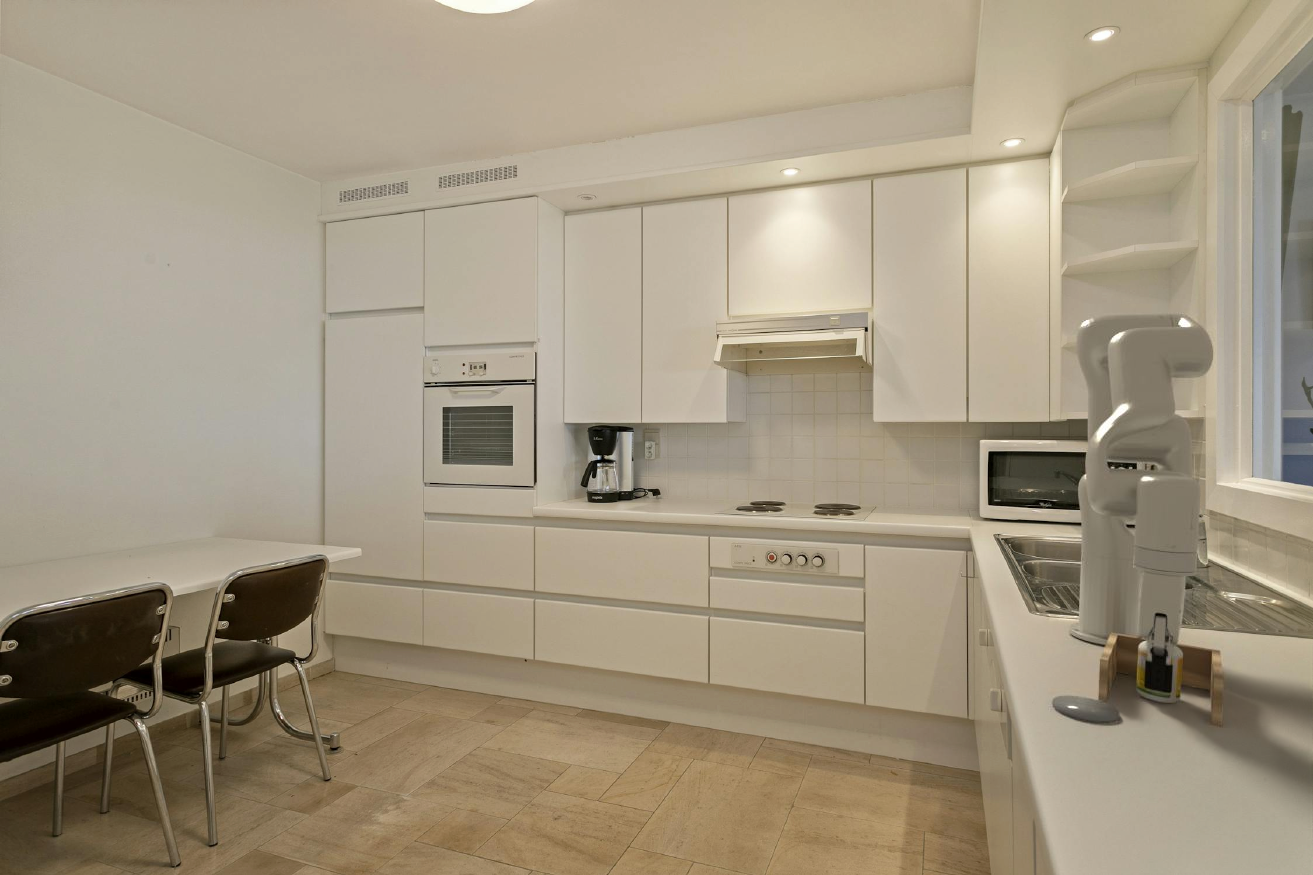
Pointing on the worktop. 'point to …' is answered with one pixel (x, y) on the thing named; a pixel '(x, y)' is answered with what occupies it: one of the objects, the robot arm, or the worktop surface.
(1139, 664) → the supplement bottle
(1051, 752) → the worktop surface
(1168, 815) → the worktop surface
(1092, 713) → the slate coaster
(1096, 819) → the worktop surface
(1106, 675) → the wooden u-frame
